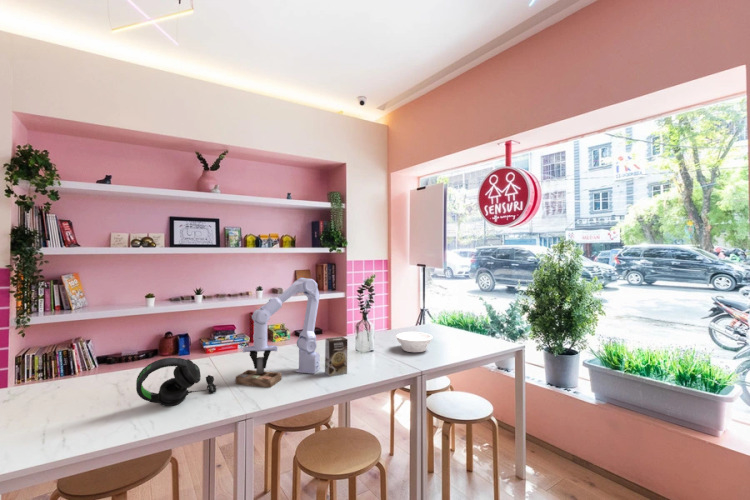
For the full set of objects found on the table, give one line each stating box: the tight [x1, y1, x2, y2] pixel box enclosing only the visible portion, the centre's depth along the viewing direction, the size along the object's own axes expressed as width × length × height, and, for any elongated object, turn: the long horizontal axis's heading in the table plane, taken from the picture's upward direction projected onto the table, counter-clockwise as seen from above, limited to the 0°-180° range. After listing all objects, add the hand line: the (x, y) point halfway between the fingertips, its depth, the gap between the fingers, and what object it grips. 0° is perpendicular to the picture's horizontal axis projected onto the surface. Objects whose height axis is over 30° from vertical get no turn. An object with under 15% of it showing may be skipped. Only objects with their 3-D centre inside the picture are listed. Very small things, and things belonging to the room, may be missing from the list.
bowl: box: [395, 331, 434, 353], centre depth 201 cm, size 21×21×8 cm
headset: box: [135, 357, 217, 407], centre depth 131 cm, size 18×14×29 cm
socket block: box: [235, 369, 282, 388], centre depth 151 cm, size 17×9×3 cm, turn 77°
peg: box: [255, 356, 265, 374], centre depth 152 cm, size 3×3×6 cm
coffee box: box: [324, 336, 348, 377], centre depth 162 cm, size 9×6×16 cm
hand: (260, 367), depth 152 cm, fingers closed on peg, 3 cm apart
